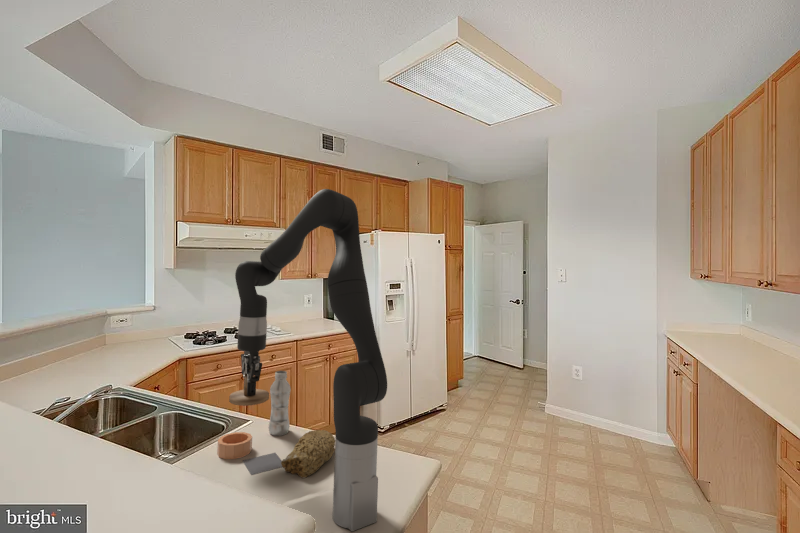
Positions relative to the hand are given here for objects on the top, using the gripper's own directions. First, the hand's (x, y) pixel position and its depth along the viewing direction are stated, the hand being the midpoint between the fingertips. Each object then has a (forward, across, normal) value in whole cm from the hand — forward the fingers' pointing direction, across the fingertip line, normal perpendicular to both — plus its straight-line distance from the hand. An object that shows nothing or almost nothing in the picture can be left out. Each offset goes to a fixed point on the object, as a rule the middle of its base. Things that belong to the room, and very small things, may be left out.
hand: (249, 393), depth 110 cm
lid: (+2, 0, 0) cm, 2 cm away
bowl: (+18, +4, +2) cm, 19 cm away
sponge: (+18, -11, -15) cm, 26 cm away
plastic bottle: (+19, +11, -13) cm, 25 cm away
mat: (+18, -7, -3) cm, 20 cm away
